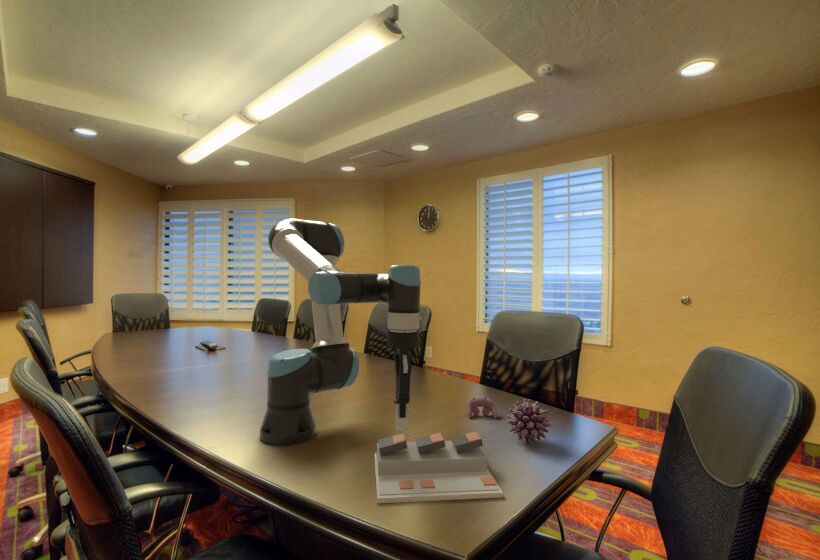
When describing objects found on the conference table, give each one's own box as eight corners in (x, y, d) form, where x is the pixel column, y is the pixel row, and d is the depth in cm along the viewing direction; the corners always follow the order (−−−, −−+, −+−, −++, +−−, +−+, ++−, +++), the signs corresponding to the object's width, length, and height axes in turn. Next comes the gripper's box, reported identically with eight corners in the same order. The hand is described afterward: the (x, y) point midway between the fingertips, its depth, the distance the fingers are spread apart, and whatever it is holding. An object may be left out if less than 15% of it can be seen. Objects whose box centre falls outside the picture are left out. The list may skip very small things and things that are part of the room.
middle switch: (419, 453, 90) (417, 446, 90) (416, 444, 94) (415, 438, 94) (445, 447, 90) (444, 440, 90) (441, 438, 95) (440, 431, 95)
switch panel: (377, 503, 77) (377, 483, 77) (374, 457, 97) (374, 441, 97) (502, 497, 80) (503, 478, 80) (475, 453, 100) (475, 438, 100)
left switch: (380, 455, 89) (378, 447, 89) (379, 445, 93) (378, 439, 93) (407, 448, 89) (406, 441, 89) (405, 439, 94) (404, 432, 94)
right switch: (457, 452, 91) (455, 445, 91) (452, 443, 96) (451, 437, 96) (482, 446, 92) (481, 438, 92) (477, 437, 96) (475, 430, 96)
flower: (546, 455, 100) (548, 409, 100) (501, 444, 106) (502, 401, 106) (554, 439, 110) (555, 397, 110) (511, 430, 116) (512, 391, 116)
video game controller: (495, 420, 129) (493, 398, 132) (498, 418, 125) (496, 396, 128) (465, 419, 129) (464, 398, 132) (468, 418, 125) (466, 395, 128)
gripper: (423, 334, 86) (421, 440, 86) (415, 326, 98) (413, 419, 98) (389, 333, 85) (387, 441, 85) (386, 326, 98) (384, 419, 98)
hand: (401, 429), depth 92 cm, fingers closed
